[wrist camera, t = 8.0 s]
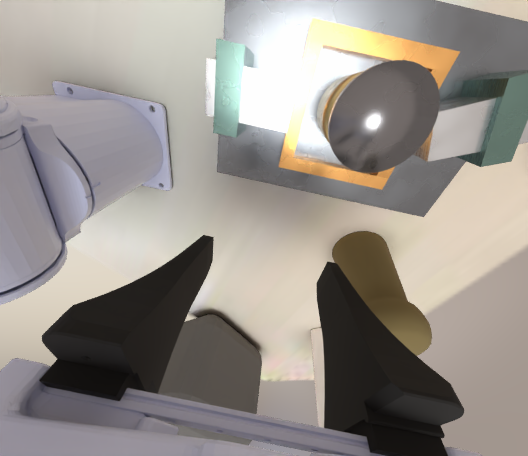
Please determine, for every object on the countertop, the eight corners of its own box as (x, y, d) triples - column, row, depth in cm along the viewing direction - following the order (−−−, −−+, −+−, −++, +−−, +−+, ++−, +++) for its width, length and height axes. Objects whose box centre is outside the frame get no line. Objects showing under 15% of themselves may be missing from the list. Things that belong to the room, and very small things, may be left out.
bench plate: (219, 167, 20) (202, 185, 16) (231, -37, 12) (204, -93, 9) (420, 211, 20) (450, 239, 16) (548, 36, 13) (658, 13, 9)
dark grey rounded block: (170, 319, 37) (107, 438, 24) (216, 303, 33) (168, 439, 20) (225, 358, 44) (198, 468, 31) (269, 350, 40) (258, 473, 27)
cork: (376, 222, 21) (439, 319, 12) (393, 259, 24) (456, 362, 15) (323, 244, 24) (343, 339, 15) (343, 276, 26) (371, 373, 17)
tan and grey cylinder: (329, 154, 17) (349, 188, 11) (304, 100, 15) (313, 106, 9) (388, 122, 15) (447, 141, 9) (368, 55, 13) (428, 28, 7)
